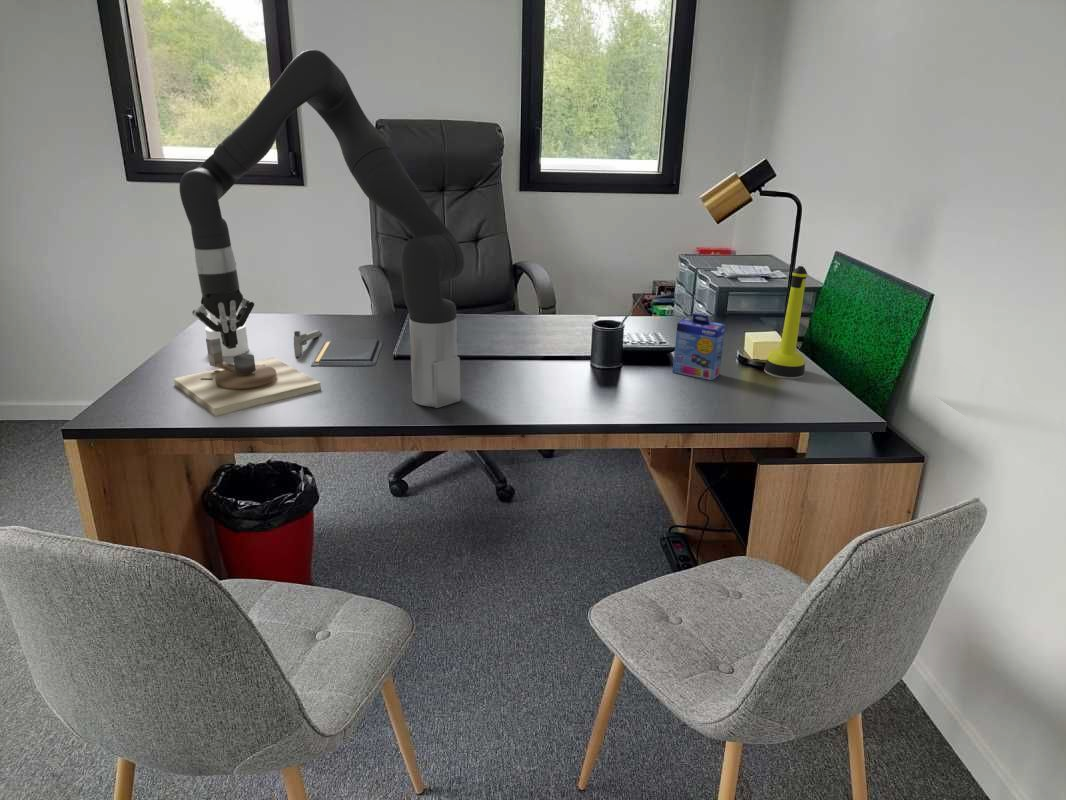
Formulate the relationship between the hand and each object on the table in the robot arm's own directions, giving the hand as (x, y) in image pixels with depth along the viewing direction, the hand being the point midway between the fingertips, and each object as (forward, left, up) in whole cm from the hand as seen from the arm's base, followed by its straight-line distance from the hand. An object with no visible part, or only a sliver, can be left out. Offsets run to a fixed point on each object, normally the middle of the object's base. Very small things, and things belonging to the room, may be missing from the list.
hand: (230, 347), depth 156 cm
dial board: (-9, +1, -6) cm, 11 cm away
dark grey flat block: (-3, -27, -7) cm, 28 cm away
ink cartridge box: (-66, -80, -6) cm, 104 cm away
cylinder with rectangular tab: (+18, -6, -6) cm, 20 cm away
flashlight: (-79, -97, -6) cm, 125 cm away
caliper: (+10, -23, -7) cm, 26 cm away
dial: (-7, +2, -4) cm, 8 cm away
